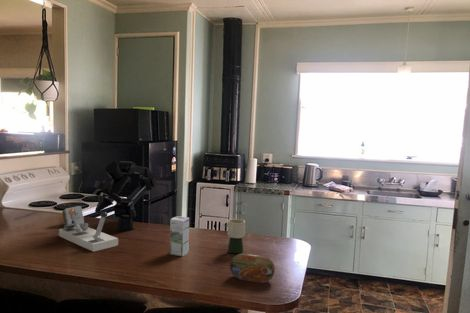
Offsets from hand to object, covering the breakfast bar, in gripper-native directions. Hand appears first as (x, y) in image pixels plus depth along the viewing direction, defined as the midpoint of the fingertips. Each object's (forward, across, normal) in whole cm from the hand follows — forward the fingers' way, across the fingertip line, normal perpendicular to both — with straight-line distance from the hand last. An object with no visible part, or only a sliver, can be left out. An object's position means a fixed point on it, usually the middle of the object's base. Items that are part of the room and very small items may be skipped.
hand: (95, 211), depth 158 cm
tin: (-2, +78, +25) cm, 82 cm away
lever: (+10, +16, 0) cm, 18 cm away
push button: (+8, -4, +2) cm, 9 cm away
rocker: (+11, -8, -2) cm, 13 cm away
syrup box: (-1, +42, +21) cm, 47 cm away
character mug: (-12, +55, +35) cm, 66 cm away
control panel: (+12, +3, +4) cm, 13 cm away
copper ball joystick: (+10, +2, -1) cm, 11 cm away
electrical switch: (+8, -27, +6) cm, 29 cm away
